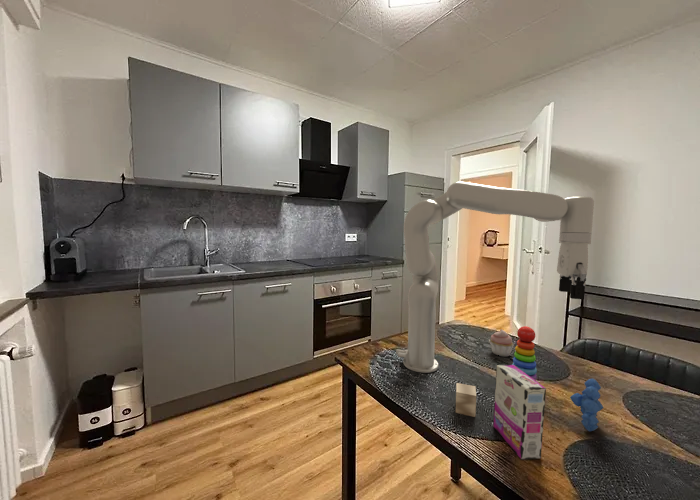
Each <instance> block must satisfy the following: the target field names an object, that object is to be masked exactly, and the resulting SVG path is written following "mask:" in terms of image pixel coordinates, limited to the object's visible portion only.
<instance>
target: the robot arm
mask: <svg viewBox="0 0 700 500" xmlns="http://www.w3.org/2000/svg"><path fill="white" fill-rule="evenodd" d="M594 206H595V200H594V199H593V197H591V196H582V195H581V196H570V197H566V198H565V197H562V196H560V195H557V194H554V193H548V192H547V193H546V192H539V191H532V190H526V189H513V188H507V187H498V186H493V185H485V184H481V183H480V184H479V183H473V182H466V181H456V182H453V183H452V184H450V185H449V186H448V188H447V190H446V191H444V193H442V194H440V195H439V196H437V197H435V198H434V199H423V200H420V201H419V202H417V203H416V204H414V205H413V206H412V207H411V208H410V209H409V210H408V212H407V213H406V215H405V218H404V222H403V237H404V248H405V258H406V259H405V260H406V266H407V268H406V269H407V270H408V272H409V273H410V274H411V275H412V283H411V285H410V287H409V290H408V293H407V303H408V304H407V305H408V321H407V322H408V329H407V330H408V331H407V333H408V334H407V349H405V350H403V349H399V348H397V349H396V351H395V354H396V355H397V357H398V358H403V360H402V363H403V365H404V366H405V367H406V368H407V369H408V370H410V371H413V372H416V373H421V374H422V373H424V374H425V373H426V374H427V373H433V372H435V371H437V370H438V369H439V362H438V361H437V359H435V349H436V348H435V344H436V313H437V312H436V309H437V308H436V307H437V306H436V301H437V297H438V294H439V281H438V280H439V279H438V271H437V262H436V257H435V255H434V254H433V252H432V251H431V249H430V248H431V247H430V238H429V231H428V230H429V227H430V225H431V226H432V225H435V224H438V223H439V222H441V221H443V220H445V219H447V218H448V217H450V216H452V215H454V214H456V213H457V212H460V210H463V209H466V210H471V211H476V212H482V213H486V214H487V213H488V214H492V215H512V216H513V215H514V216H520V217H526V218H532V219H534V220H536V221H537V222H542V223H545V222H546V223H549V222H555V221H560V223H559V239H558V241H559V242H558V243H559V244H560V246H559V251H558V258H557V266H556V272H557V273H558V274H560V275H559V284H558V285H559V286H558V291H559V292H563V293H570V294H569V298H570V299H572V300H573V299H574V300H584V299H585V291H586V285H587V284H586V281H587V278H586V277H587V274H588V267H589V265H588V263H589V245H591V244H592V232H593V231H592V230H593V219H594V209H595V207H594Z"/></svg>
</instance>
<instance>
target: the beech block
mask: <svg viewBox="0 0 700 500" xmlns="http://www.w3.org/2000/svg"><path fill="white" fill-rule="evenodd" d="M455 388H456V389H455V391H456V392H455V393H456V394H455V413H456V414H460V415H464V416H468V417H473V418H476V412H477V411H476V409H477V388H476V386H475V385H470V384H465V383H460V382H456V387H455Z"/></svg>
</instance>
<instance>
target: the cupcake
mask: <svg viewBox="0 0 700 500" xmlns="http://www.w3.org/2000/svg"><path fill="white" fill-rule="evenodd" d="M488 342H489V343H490V347H491V351H492V354H494V355H496V356H498V355H499V357H504V358H505V357H509V356H510V355H511V353H512V350H513V348H514V346H515V342H513V339H512V337H511V335H509V334H508V332H506V331H505V330H503V329H500V330H499V331H496V332H494V333H493V334H491V335H490V338H489V340H488Z"/></svg>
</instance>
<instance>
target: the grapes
mask: <svg viewBox="0 0 700 500" xmlns="http://www.w3.org/2000/svg"><path fill="white" fill-rule="evenodd" d="M584 386H585V388H584V389H583V390H582V391H581V394H580V393H579V392H576V393H573V394H572V395H571V396H570V397H569V399H570V400H571V401H572V402H573V404H574V405H575V406H577V407H579V408H580V412H581V413H582V415H581V419H582V420H580V421H581V424H582V426H583V427H584V428H585V430H586V431H588V432H592V431H595V430H597V429H598V428H599V426H598V423H600V422H599V420H598V418H597V416H598V413H599V412H600V411H602V410H603V409H604V406H603V405H602V403H601V401H600V400H599V399H600V398H601V394H600V392H599V391H600V390H601V388H602V386H601V385H600V384H599V382H598V381H597V380H596V378H589V379H587V380H586V381H585V382H584Z"/></svg>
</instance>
